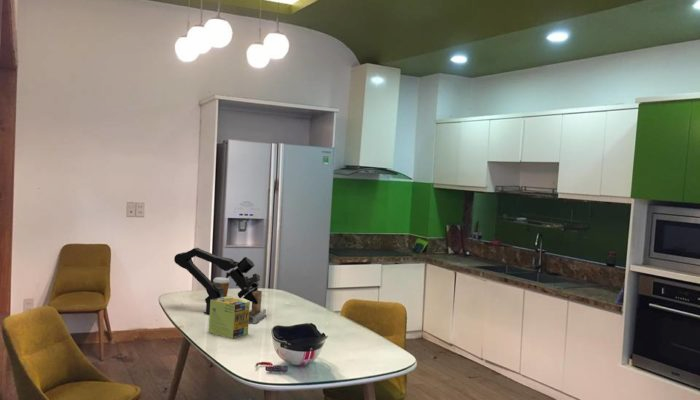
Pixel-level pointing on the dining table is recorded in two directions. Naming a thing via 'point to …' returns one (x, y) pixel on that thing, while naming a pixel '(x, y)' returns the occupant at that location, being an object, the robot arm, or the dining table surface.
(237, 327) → the protein box
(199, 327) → the dining table surface
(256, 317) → the door track
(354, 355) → the dining table surface
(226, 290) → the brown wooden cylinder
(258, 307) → the door panel
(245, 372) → the dining table surface
